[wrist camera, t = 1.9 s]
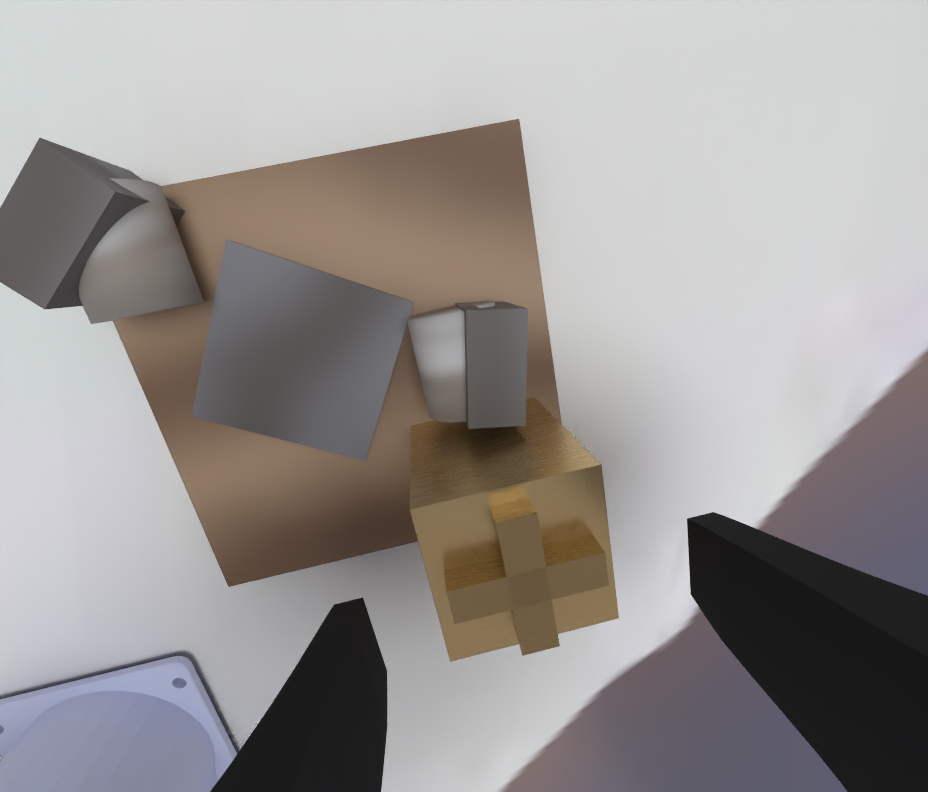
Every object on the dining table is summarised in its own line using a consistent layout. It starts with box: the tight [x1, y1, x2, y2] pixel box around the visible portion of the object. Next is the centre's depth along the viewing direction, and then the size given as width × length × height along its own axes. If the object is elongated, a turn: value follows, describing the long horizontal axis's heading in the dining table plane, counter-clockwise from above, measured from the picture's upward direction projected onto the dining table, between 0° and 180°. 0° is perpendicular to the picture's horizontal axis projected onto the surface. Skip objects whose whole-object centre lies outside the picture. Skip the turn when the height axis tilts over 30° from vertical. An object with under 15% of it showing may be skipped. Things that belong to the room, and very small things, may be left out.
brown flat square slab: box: [0, 119, 561, 587], centre depth 13 cm, size 14×13×4 cm
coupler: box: [410, 398, 619, 661], centre depth 12 cm, size 4×4×6 cm
